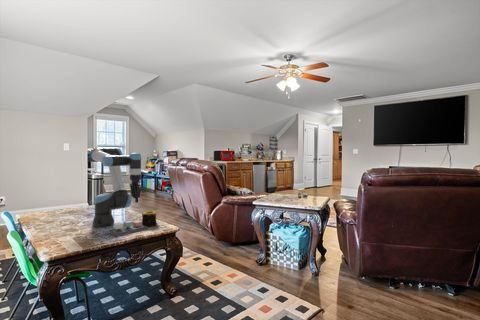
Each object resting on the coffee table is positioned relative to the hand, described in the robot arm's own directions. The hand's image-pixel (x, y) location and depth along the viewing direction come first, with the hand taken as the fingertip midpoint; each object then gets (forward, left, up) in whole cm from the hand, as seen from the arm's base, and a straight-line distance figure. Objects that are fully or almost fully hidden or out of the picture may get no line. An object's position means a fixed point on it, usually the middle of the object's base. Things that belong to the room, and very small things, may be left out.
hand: (135, 206), depth 198 cm
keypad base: (0, -6, -16) cm, 17 cm away
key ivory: (0, -13, -14) cm, 19 cm away
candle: (-2, +12, -17) cm, 21 cm away
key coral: (0, +1, -16) cm, 16 cm away
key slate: (0, -6, -14) cm, 16 cm away
